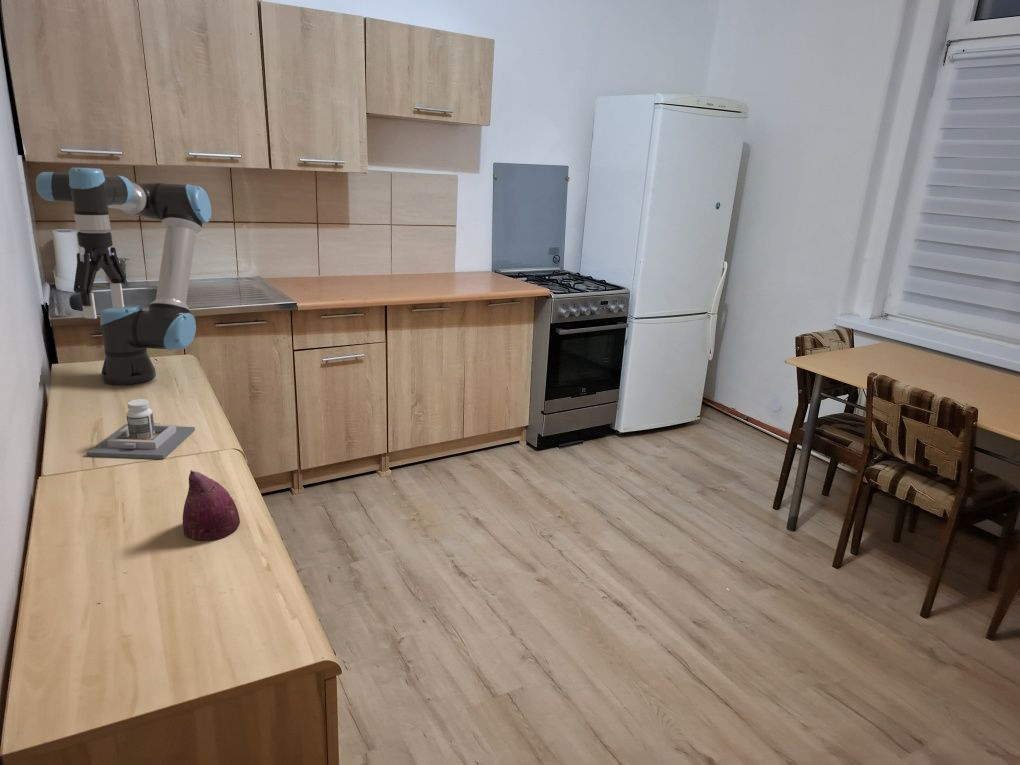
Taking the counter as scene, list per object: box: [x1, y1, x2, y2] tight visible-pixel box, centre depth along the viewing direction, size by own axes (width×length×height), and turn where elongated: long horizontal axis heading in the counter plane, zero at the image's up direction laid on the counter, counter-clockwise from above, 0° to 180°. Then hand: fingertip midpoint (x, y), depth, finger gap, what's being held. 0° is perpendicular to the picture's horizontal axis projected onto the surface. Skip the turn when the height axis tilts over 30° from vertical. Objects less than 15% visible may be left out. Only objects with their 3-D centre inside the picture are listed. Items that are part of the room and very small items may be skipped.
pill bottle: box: [126, 398, 155, 440], centre depth 166 cm, size 6×6×10 cm
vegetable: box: [182, 469, 241, 542], centre depth 129 cm, size 10×10×15 cm
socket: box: [86, 422, 196, 460], centre depth 167 cm, size 18×18×3 cm
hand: (105, 312), depth 176 cm, fingers open, 13 cm apart
